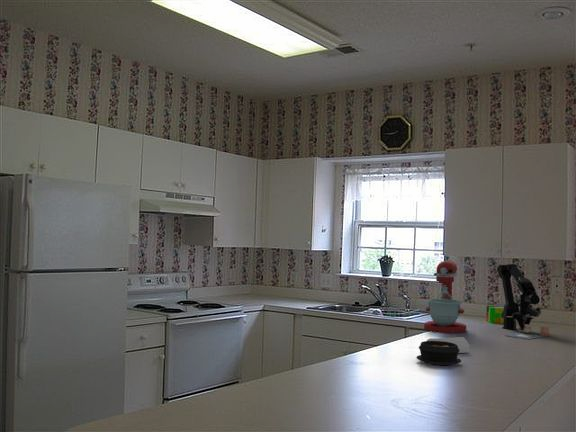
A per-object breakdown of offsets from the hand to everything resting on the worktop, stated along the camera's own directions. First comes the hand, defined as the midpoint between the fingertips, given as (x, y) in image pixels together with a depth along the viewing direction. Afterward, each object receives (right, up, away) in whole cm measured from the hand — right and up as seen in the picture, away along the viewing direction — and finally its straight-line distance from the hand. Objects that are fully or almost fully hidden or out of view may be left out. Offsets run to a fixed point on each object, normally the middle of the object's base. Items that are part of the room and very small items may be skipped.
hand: (524, 329), depth 356 cm
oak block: (0, -1, 0) cm, 1 cm away
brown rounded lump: (+9, -2, -7) cm, 11 cm away
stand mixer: (-45, -1, +4) cm, 45 cm away
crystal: (-64, +2, -71) cm, 95 cm away
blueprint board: (-6, -1, -13) cm, 14 cm away
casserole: (-73, +3, -96) cm, 121 cm away
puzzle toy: (-2, -4, +45) cm, 45 cm away
